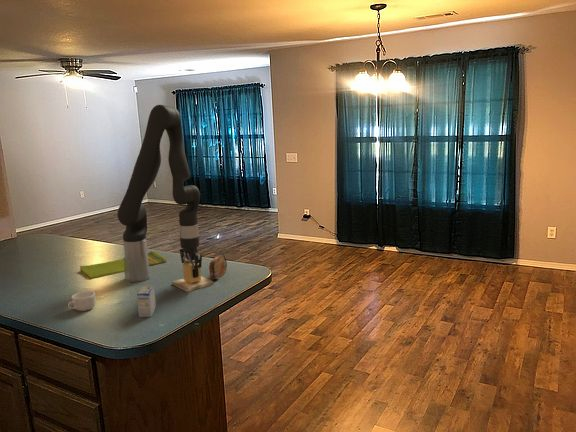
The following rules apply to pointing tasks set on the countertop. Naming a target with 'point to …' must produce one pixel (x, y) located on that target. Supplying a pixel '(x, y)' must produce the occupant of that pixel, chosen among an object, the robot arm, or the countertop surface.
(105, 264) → the dish towel
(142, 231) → the robot arm
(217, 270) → the tin
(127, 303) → the countertop surface
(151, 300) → the medicine box
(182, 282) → the birch board
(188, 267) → the ochre block
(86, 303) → the teacup
